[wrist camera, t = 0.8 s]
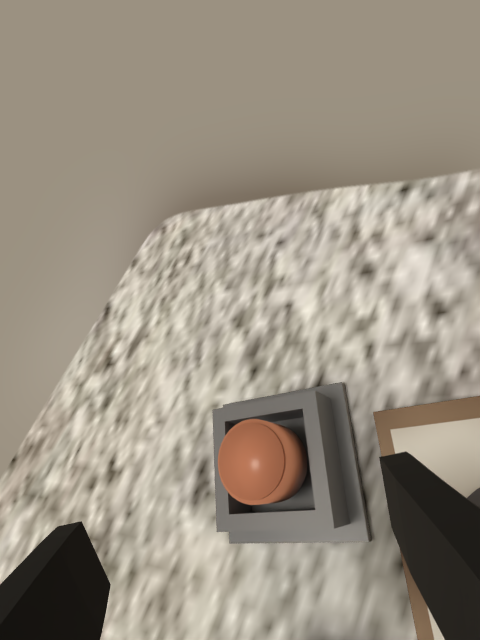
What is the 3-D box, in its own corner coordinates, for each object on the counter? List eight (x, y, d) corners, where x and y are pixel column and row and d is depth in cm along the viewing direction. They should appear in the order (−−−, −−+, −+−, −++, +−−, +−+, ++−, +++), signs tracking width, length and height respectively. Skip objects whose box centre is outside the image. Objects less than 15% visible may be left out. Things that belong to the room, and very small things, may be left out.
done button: (312, 500, 20) (292, 502, 18) (242, 504, 22) (217, 507, 20) (302, 419, 22) (282, 412, 20) (238, 429, 23) (214, 424, 21)
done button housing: (371, 540, 20) (354, 548, 18) (234, 542, 24) (204, 549, 21) (344, 383, 23) (327, 372, 21) (227, 406, 27) (201, 398, 24)
